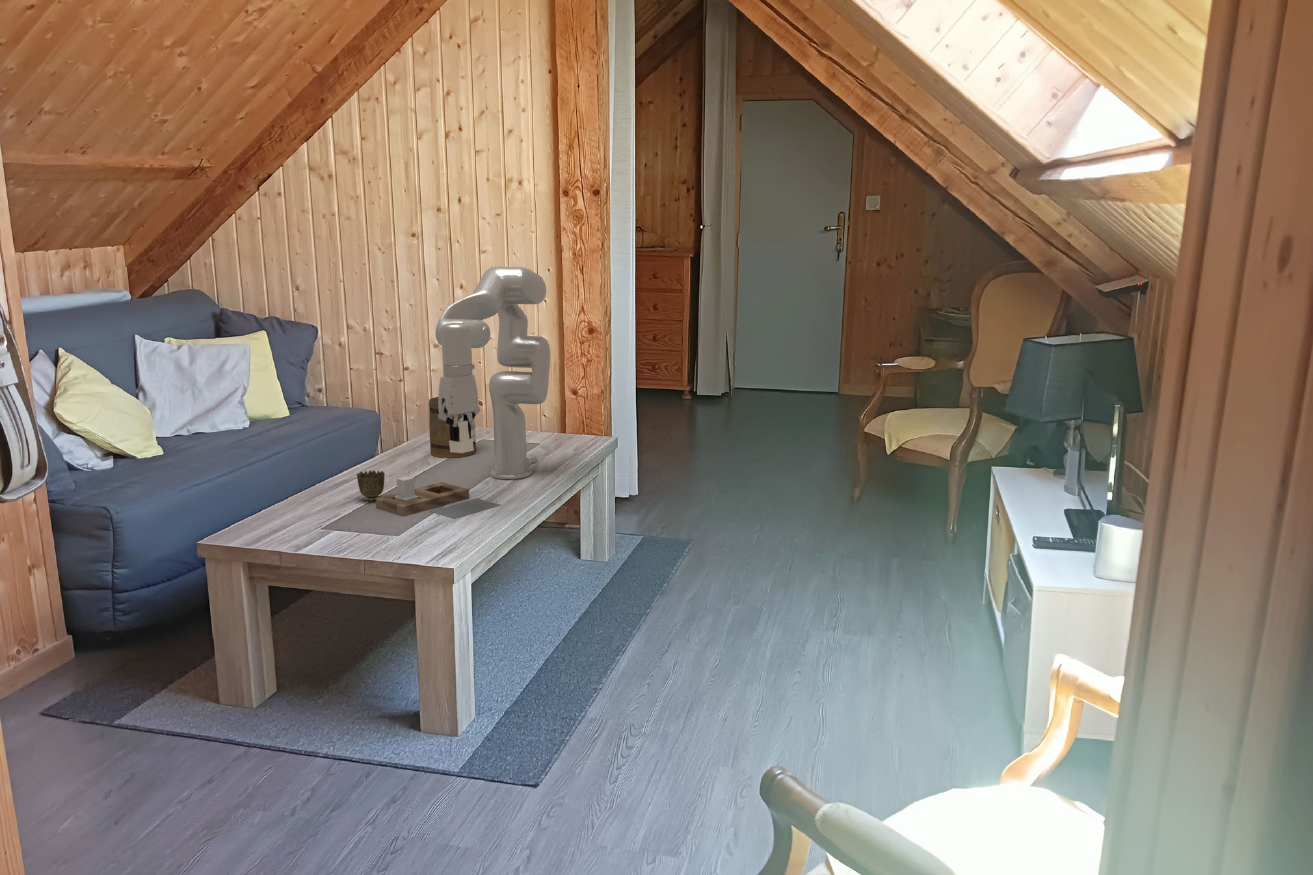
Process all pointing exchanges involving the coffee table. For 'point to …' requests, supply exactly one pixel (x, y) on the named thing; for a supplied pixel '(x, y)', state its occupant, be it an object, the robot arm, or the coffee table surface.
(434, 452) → the wooden container
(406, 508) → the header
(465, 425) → the ivory plug
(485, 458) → the coffee table surface
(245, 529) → the coffee table surface
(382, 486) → the cup
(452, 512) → the mat
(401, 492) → the grey plug
